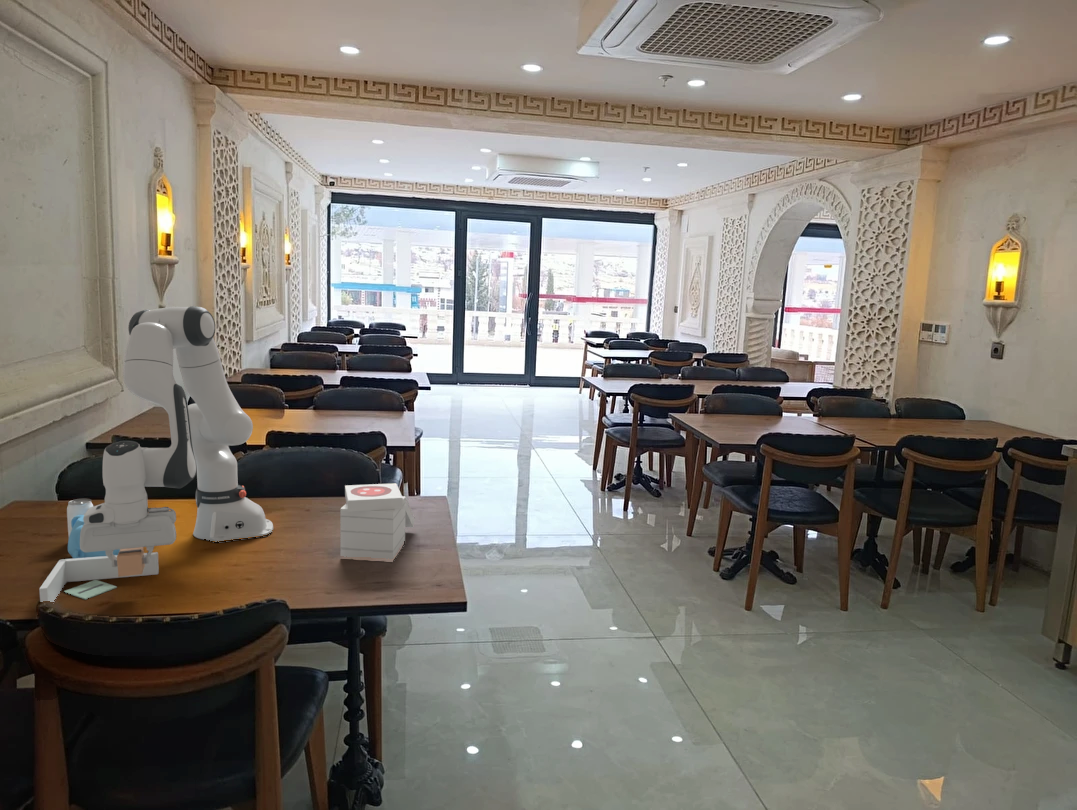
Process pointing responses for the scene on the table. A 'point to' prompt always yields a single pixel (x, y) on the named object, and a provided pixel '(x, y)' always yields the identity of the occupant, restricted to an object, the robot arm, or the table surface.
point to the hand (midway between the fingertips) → (131, 564)
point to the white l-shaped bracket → (87, 576)
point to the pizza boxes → (373, 521)
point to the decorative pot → (75, 541)
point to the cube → (130, 561)
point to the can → (77, 510)
